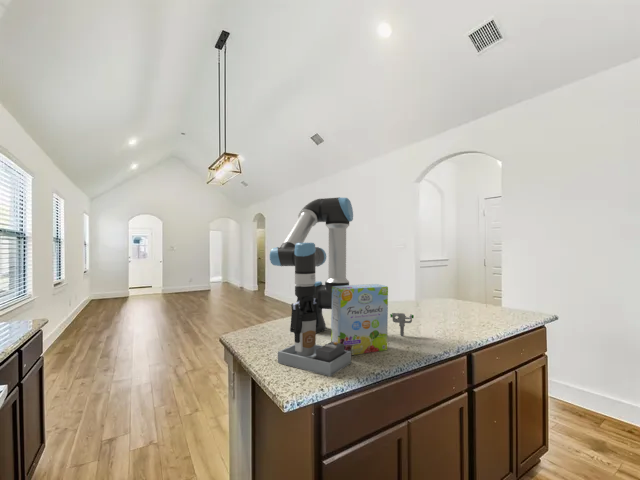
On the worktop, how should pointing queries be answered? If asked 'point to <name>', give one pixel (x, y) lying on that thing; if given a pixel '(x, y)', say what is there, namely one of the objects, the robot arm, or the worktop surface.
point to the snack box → (360, 317)
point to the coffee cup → (308, 333)
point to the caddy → (313, 361)
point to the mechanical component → (401, 320)
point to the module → (330, 352)
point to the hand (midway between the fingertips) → (305, 347)
